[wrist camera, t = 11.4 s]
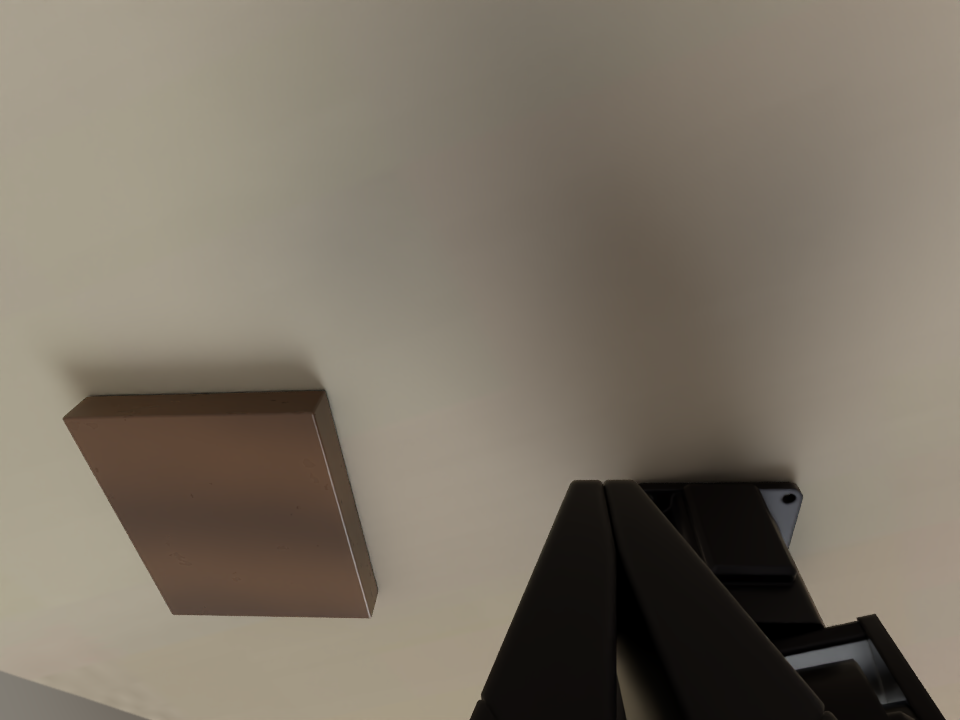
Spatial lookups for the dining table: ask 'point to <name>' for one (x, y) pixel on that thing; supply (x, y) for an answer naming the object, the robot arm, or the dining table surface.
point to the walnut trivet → (232, 500)
